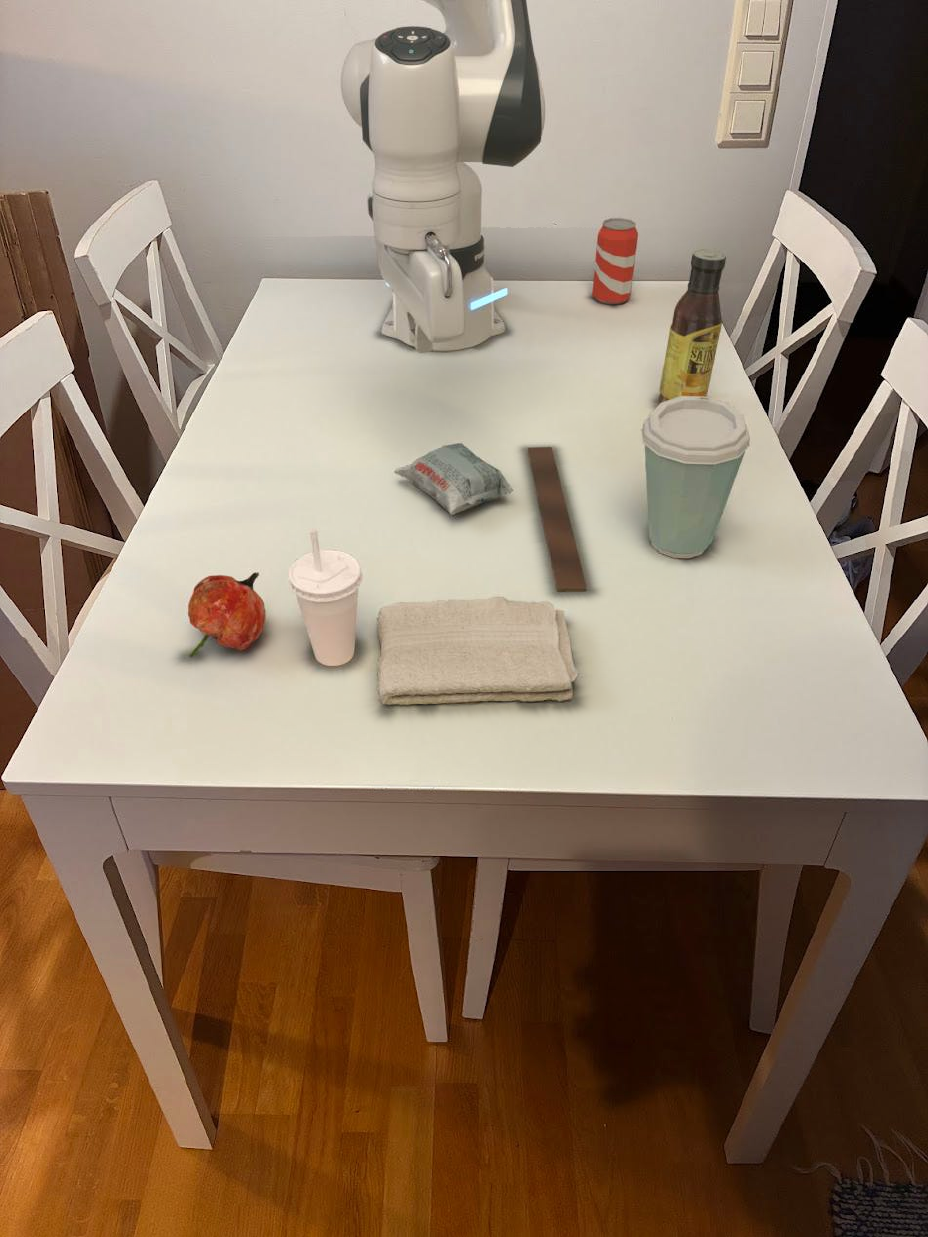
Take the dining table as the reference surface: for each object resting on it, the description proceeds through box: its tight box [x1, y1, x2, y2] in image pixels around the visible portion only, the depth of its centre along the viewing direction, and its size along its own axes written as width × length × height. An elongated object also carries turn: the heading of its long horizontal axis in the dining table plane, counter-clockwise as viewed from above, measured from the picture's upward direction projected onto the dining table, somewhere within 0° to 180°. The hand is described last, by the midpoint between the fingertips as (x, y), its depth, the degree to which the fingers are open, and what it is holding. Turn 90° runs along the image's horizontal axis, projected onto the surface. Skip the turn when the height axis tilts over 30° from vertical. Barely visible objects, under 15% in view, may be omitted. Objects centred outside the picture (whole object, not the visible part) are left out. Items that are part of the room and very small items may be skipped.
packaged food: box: [393, 442, 514, 516], centre depth 106 cm, size 9×12×5 cm
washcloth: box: [376, 596, 580, 706], centre depth 85 cm, size 12×18×3 cm, turn 94°
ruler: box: [526, 446, 588, 592], centre depth 105 cm, size 28×3×1 cm, turn 3°
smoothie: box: [288, 528, 364, 667], centre depth 83 cm, size 6×6×14 cm
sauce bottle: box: [658, 249, 727, 404], centre depth 118 cm, size 6×6×20 cm
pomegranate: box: [187, 572, 267, 658], centre depth 86 cm, size 7×7×10 cm
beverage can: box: [591, 217, 639, 305], centre depth 149 cm, size 6×6×12 cm
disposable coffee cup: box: [640, 396, 751, 559], centre depth 96 cm, size 11×11×15 cm
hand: (420, 347), depth 104 cm, fingers closed
